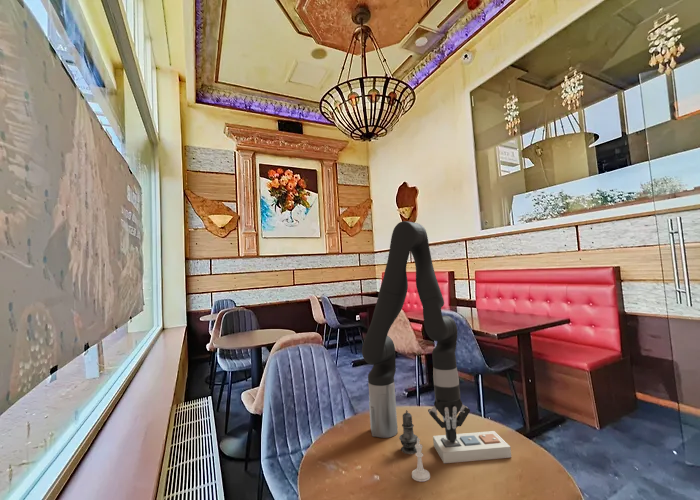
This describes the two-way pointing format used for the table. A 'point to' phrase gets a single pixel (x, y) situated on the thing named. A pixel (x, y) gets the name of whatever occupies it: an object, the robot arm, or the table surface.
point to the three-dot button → (449, 443)
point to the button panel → (472, 449)
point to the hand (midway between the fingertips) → (451, 440)
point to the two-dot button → (489, 439)
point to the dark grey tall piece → (408, 435)
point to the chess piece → (420, 466)
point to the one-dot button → (469, 440)
